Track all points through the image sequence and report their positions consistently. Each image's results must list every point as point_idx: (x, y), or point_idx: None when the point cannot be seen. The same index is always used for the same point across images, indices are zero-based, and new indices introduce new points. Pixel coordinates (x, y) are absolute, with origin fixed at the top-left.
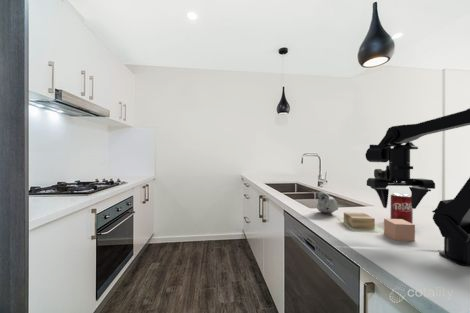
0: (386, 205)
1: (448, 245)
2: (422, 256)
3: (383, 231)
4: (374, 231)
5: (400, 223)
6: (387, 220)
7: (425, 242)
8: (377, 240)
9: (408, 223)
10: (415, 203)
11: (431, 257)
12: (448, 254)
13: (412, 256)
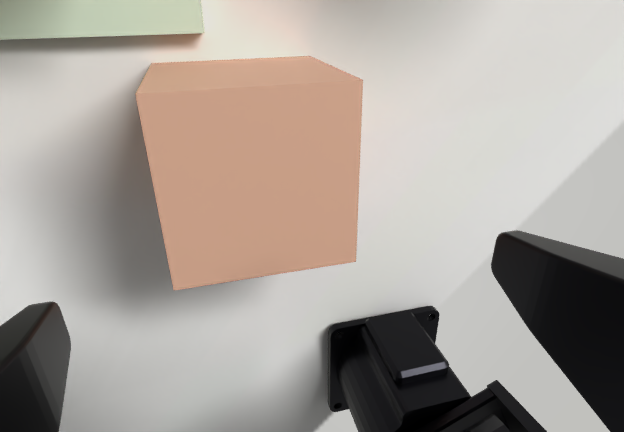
0: (50, 402)
1: (356, 411)
2: (226, 369)
3: (167, 9)
4: (63, 22)
5: (241, 255)
6: (150, 164)
7: (387, 173)
8: (39, 210)
9: (323, 236)
10: (549, 341)
11: (264, 366)
12: (340, 374)
13: (172, 384)
